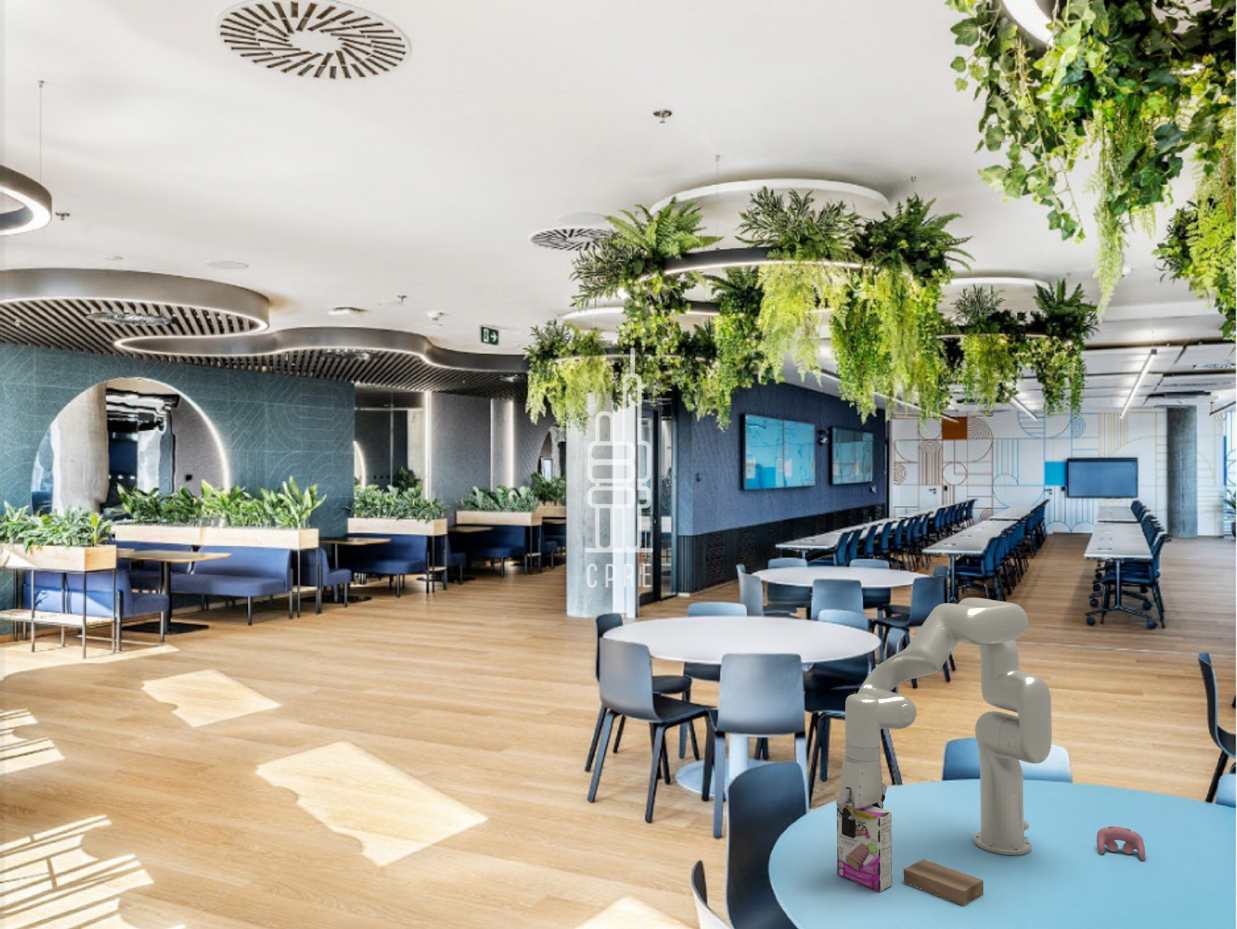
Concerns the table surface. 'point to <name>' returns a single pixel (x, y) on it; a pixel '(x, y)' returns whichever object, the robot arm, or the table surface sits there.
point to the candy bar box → (866, 849)
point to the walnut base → (944, 882)
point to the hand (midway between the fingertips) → (861, 831)
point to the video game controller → (1123, 834)
